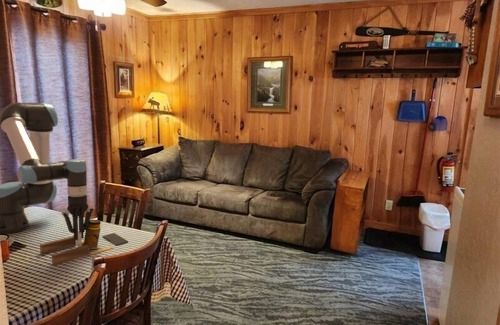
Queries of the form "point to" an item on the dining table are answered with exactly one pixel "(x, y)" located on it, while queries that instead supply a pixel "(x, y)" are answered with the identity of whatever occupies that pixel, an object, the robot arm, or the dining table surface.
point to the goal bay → (100, 249)
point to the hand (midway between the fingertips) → (78, 246)
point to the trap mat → (115, 239)
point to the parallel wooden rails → (64, 255)
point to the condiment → (92, 234)
